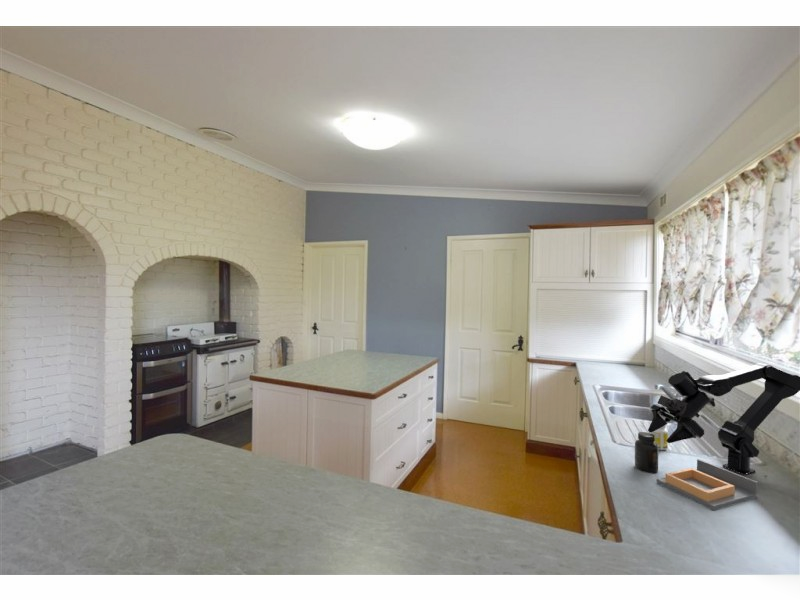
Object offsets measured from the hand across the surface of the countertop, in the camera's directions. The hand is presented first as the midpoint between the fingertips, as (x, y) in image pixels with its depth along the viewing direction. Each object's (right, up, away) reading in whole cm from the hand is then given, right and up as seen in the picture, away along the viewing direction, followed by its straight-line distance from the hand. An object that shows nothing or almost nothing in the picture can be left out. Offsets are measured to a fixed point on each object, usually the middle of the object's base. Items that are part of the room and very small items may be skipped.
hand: (657, 436), depth 129 cm
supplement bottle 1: (-4, -11, 0) cm, 12 cm away
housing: (+5, -12, -13) cm, 18 cm away
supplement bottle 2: (+13, -11, +18) cm, 25 cm away
